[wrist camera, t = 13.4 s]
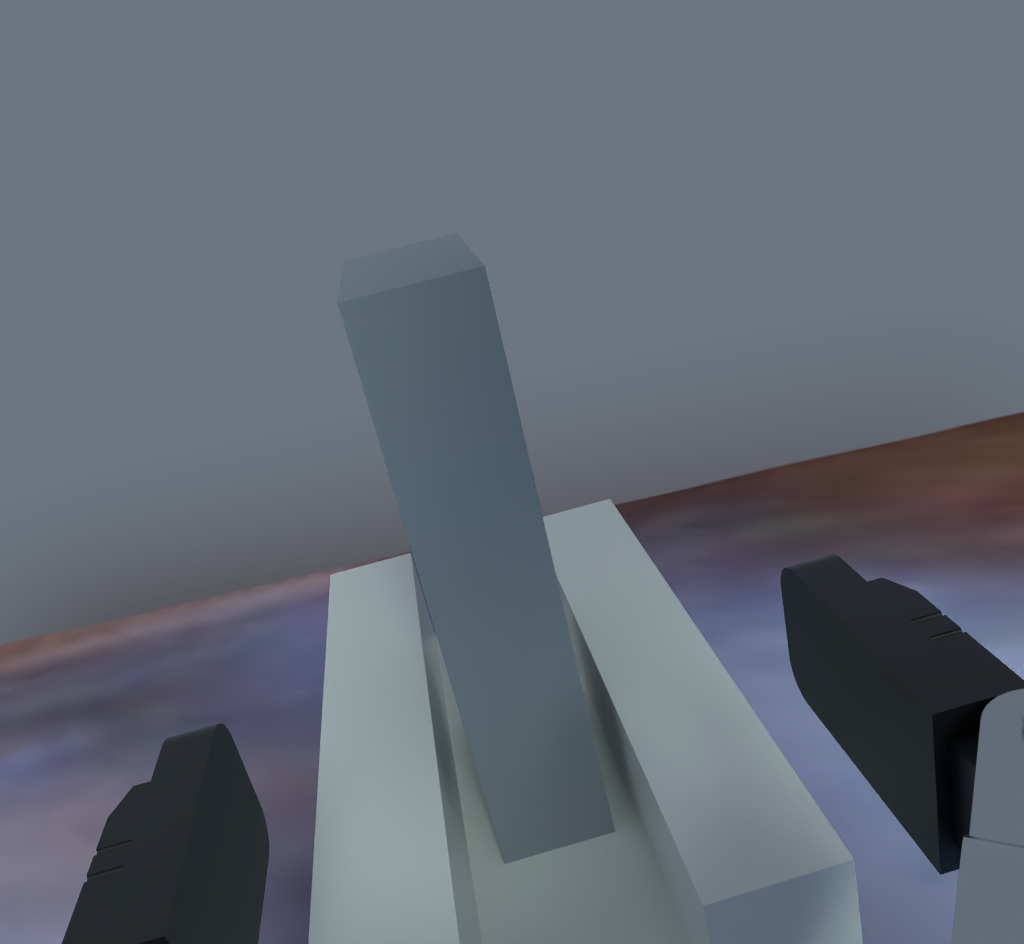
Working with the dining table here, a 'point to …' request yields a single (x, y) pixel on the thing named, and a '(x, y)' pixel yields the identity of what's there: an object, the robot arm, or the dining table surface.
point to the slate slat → (477, 535)
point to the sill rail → (624, 765)
